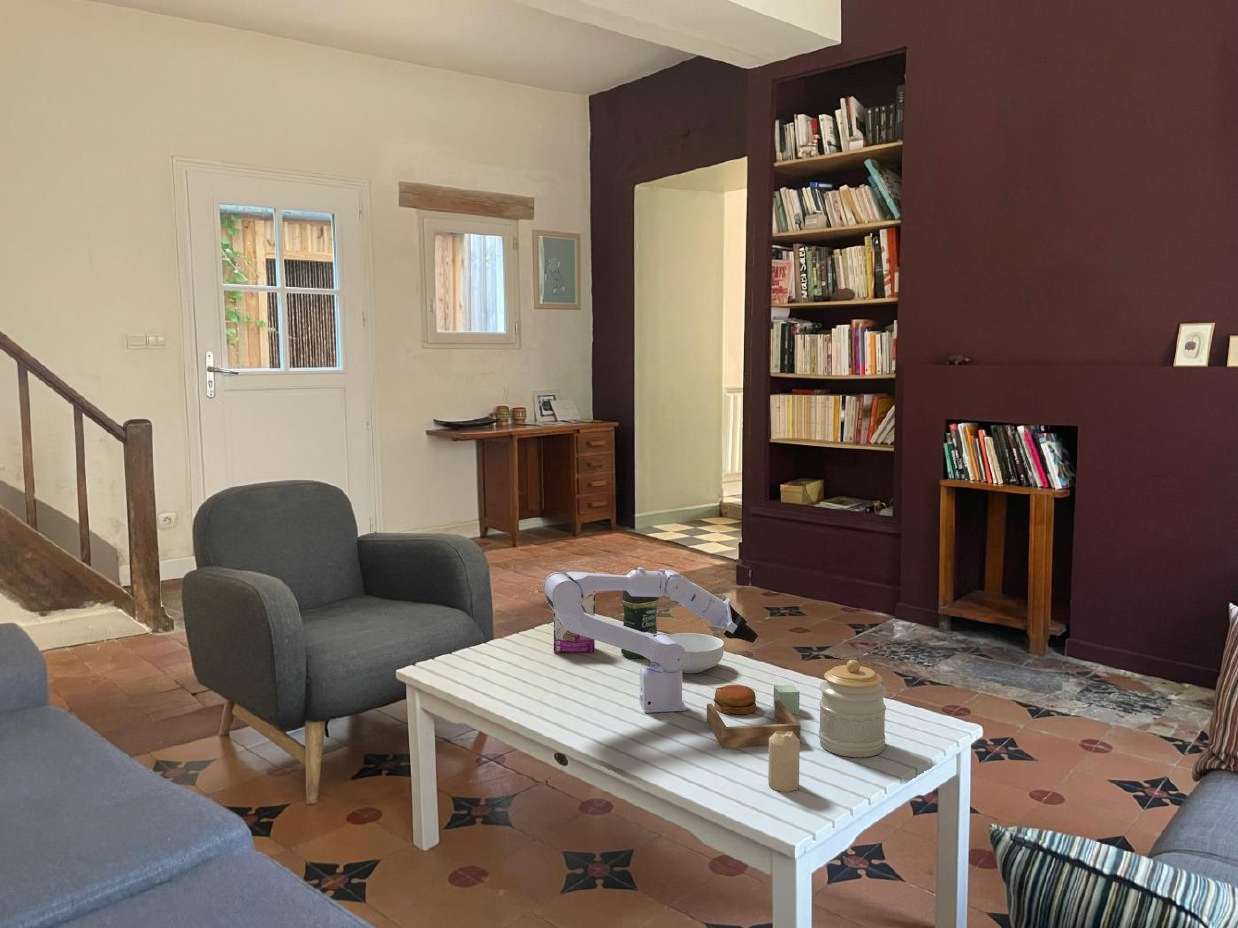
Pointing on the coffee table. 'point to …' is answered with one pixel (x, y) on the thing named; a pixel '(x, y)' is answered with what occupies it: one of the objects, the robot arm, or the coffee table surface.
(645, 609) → the coffee jar
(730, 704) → the burger
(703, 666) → the cereal bowl
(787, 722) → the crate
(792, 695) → the pale green cube
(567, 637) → the candy bar box
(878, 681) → the jar
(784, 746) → the candle
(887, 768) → the coffee table surface
